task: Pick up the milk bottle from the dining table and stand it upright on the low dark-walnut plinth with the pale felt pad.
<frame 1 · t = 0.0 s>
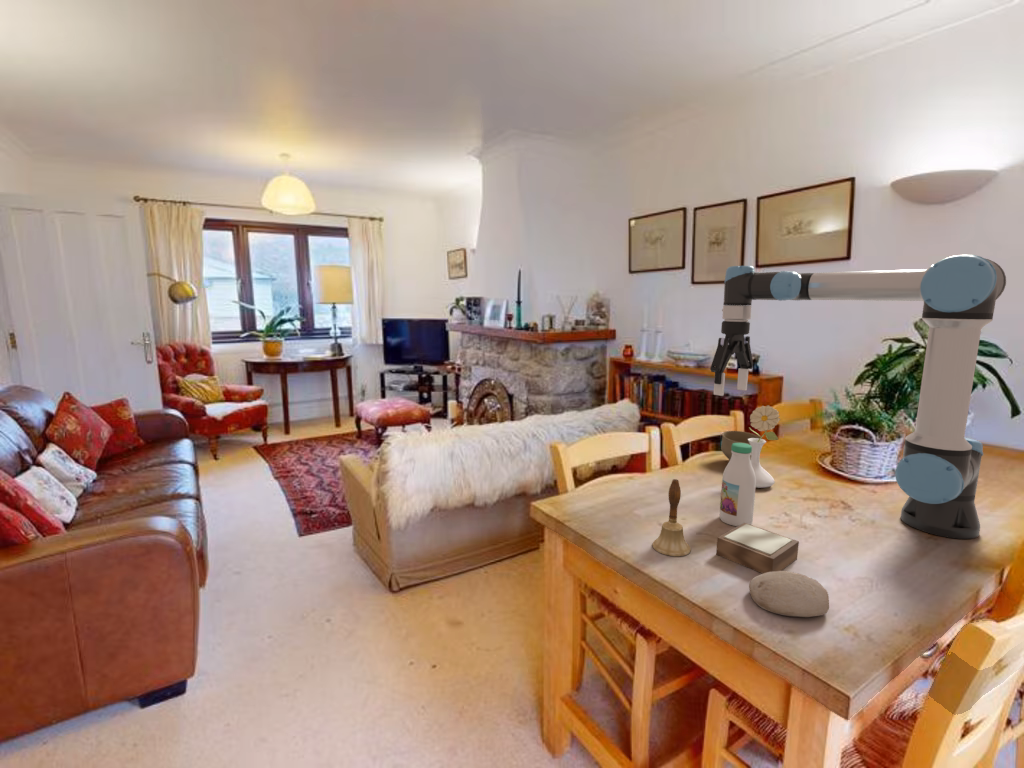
hand: (730, 392, 152), 28 cm above the table, fingers open, 13 cm apart
plinth: (756, 556, 112), on the table
bowl: (739, 464, 175), on the table
milk bottle: (735, 521, 130), on the table
stone: (786, 605, 95), on the table
flower in vase: (755, 485, 155), on the table
hand bell: (671, 548, 116), on the table
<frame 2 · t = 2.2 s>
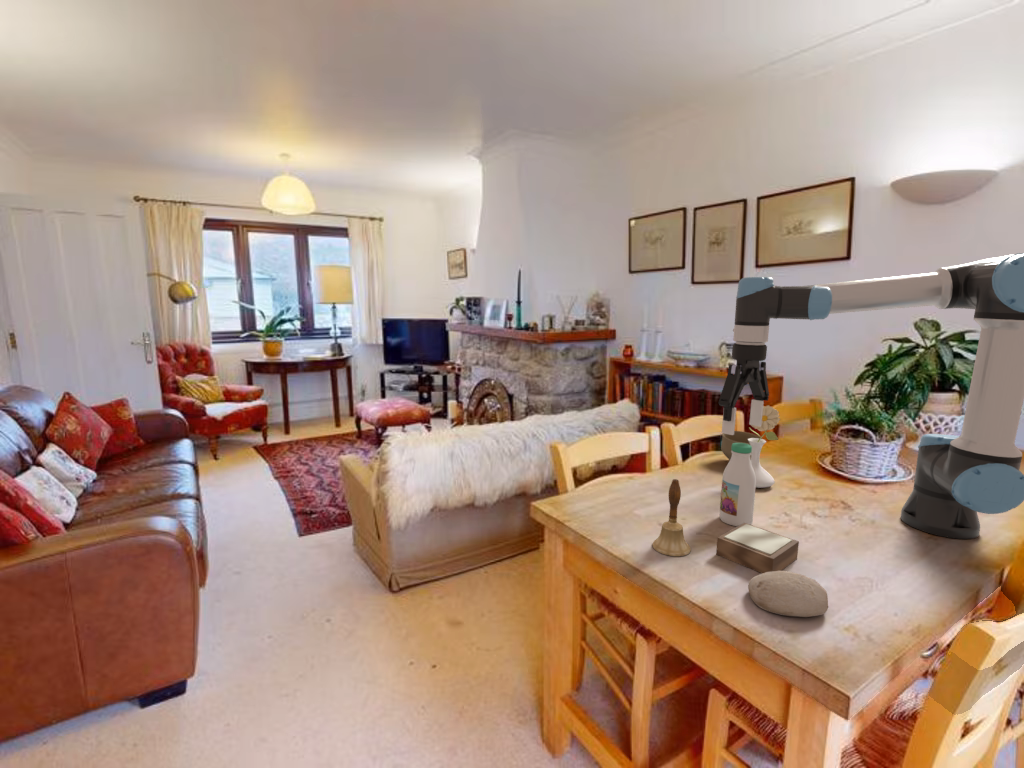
hand: (741, 429, 126), 24 cm above the table, fingers open, 13 cm apart
nothing on the table moved.
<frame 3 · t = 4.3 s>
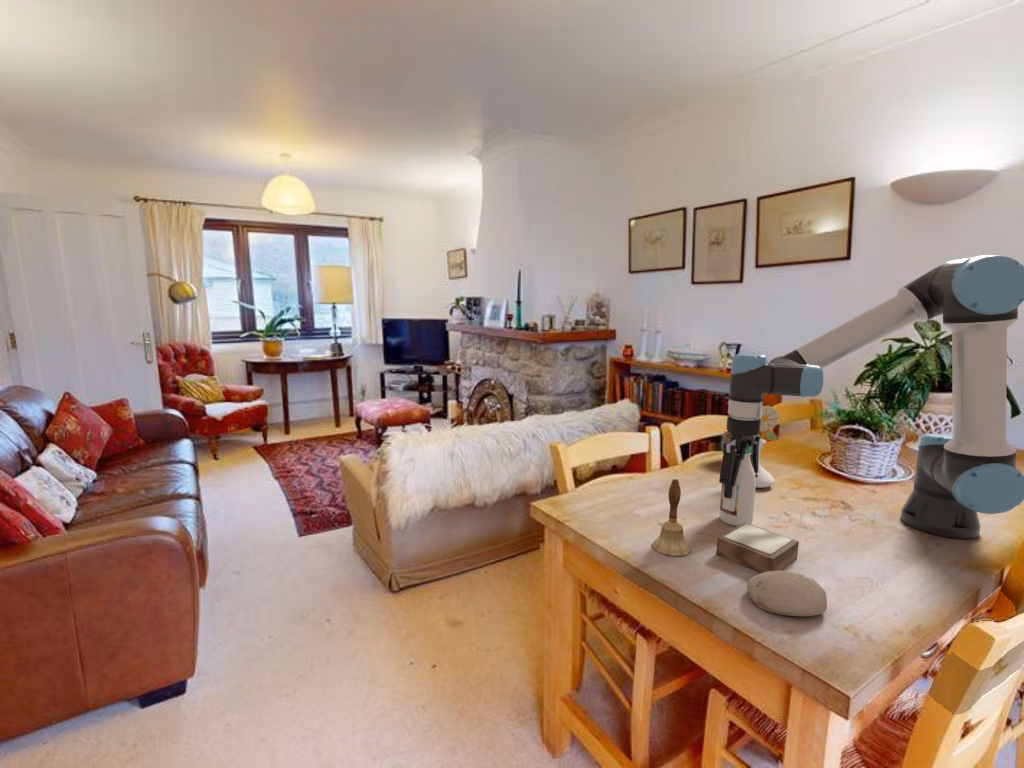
hand: (736, 505, 129), 4 cm above the table, fingers closed on milk bottle, 8 cm apart
milk bottle: (735, 521, 130), on the table, touching gripper
everything else where it was.
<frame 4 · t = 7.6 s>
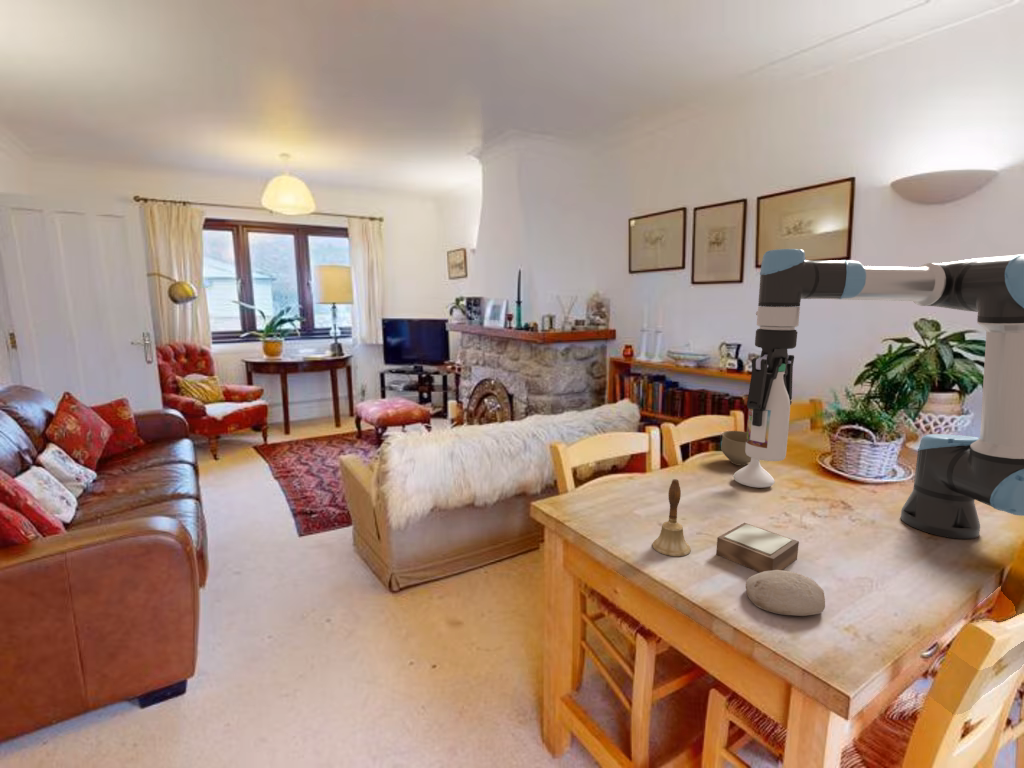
hand: (766, 437, 107), 27 cm above the table, fingers closed on milk bottle, 8 cm apart
milk bottle: (764, 457, 108), point 22 cm above the table, touching gripper
everything else where it was.
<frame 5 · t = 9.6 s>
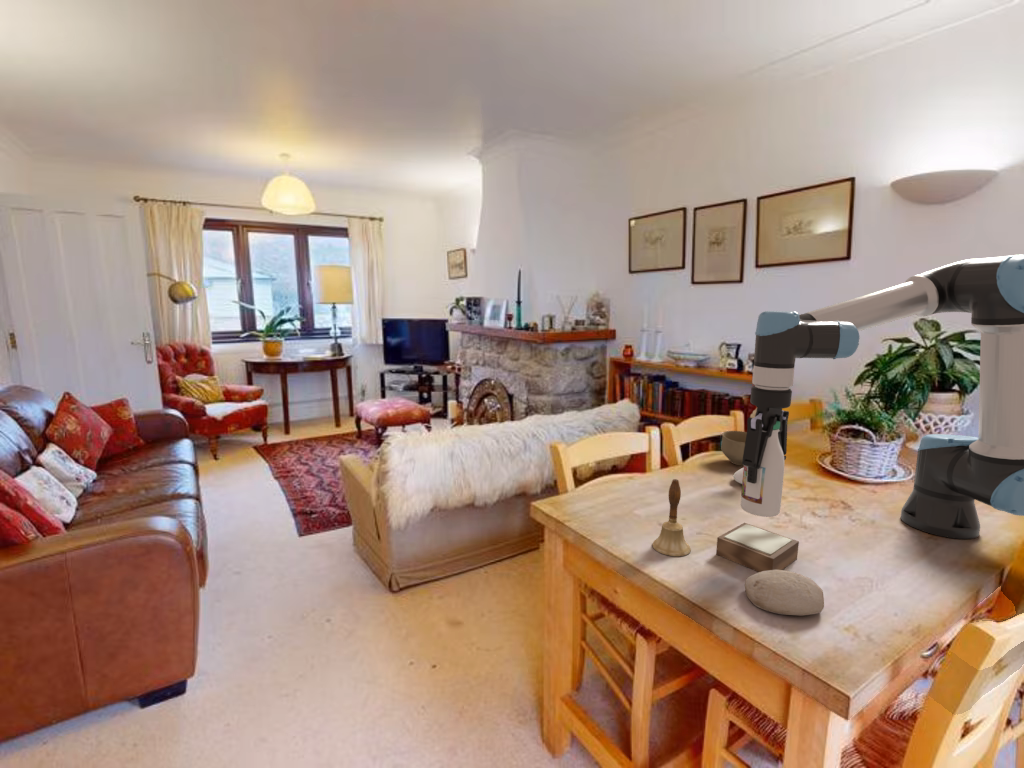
hand: (761, 492, 109), 15 cm above the table, fingers closed on milk bottle, 8 cm apart
milk bottle: (759, 511, 110), point 10 cm above the table, touching gripper
everything else where it was.
when the fingers open (10 cm above the table, at t = 11.0 s): milk bottle drops 1 cm, resting on plinth.
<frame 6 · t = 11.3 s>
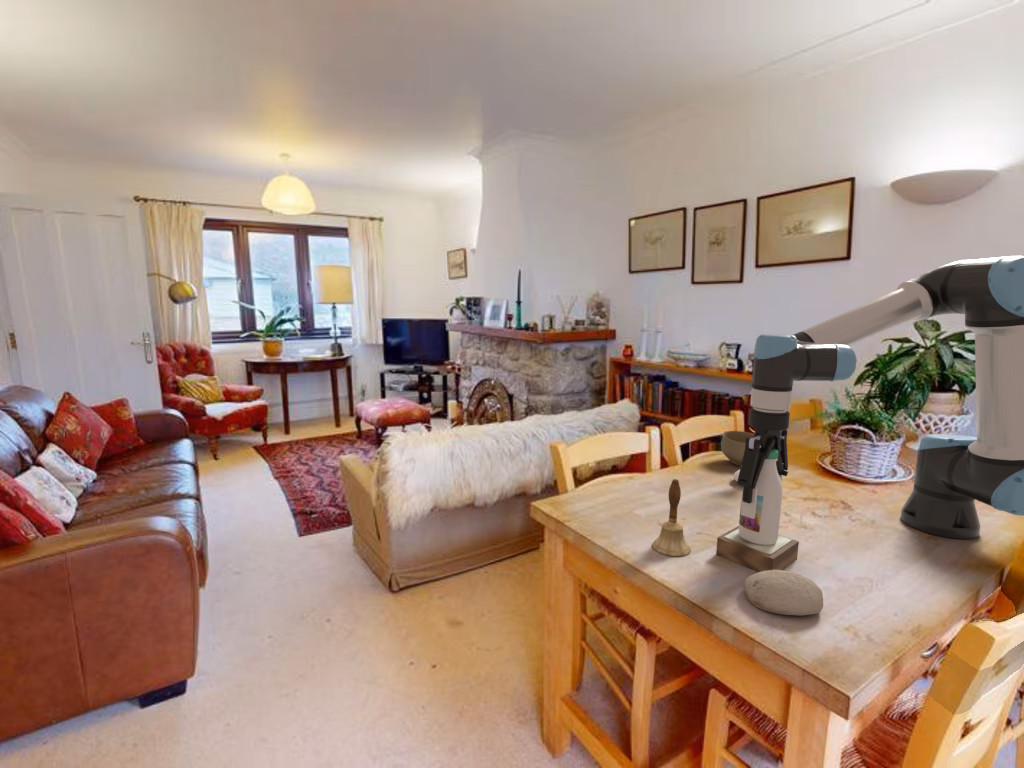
hand: (760, 509, 110), 11 cm above the table, fingers open, 10 cm apart
milk bottle: (757, 538, 111), point 4 cm above the table, touching plinth
everything else where it was.
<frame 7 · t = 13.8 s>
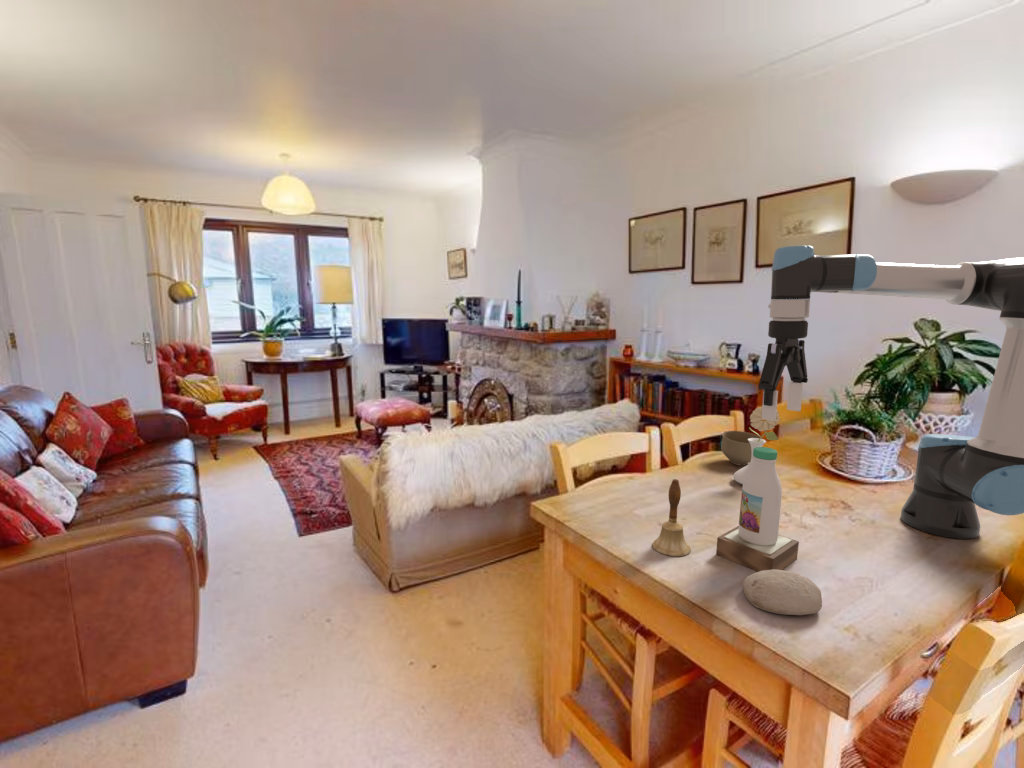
hand: (781, 415, 115), 30 cm above the table, fingers open, 13 cm apart
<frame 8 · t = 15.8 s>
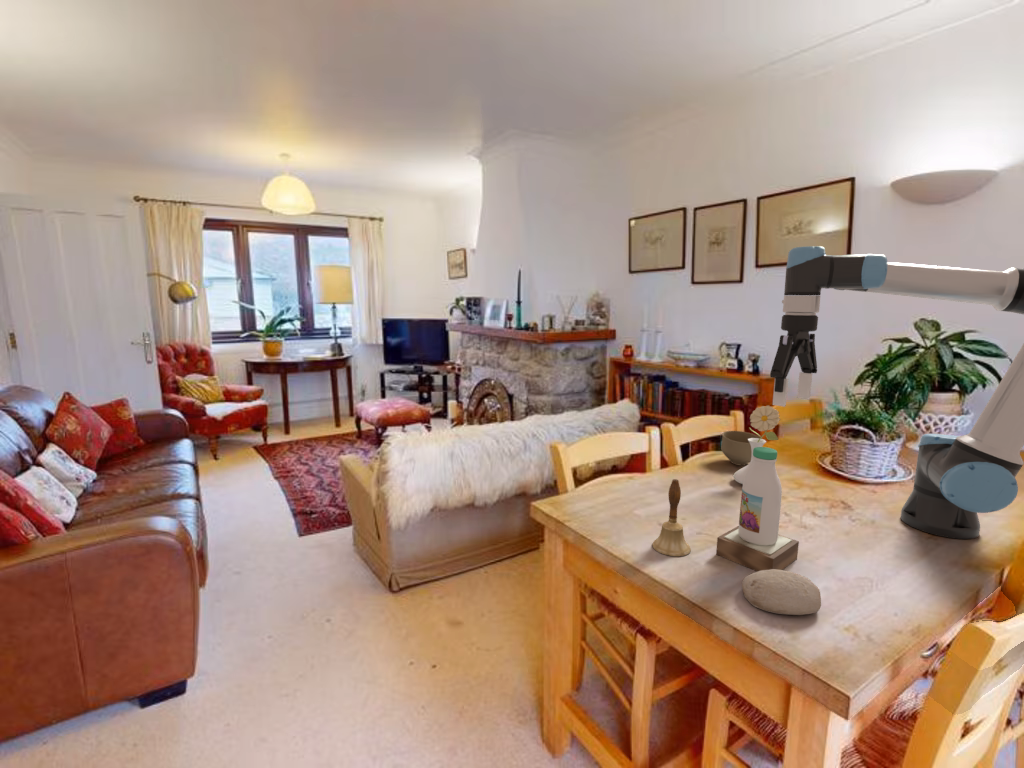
hand: (791, 402, 125), 31 cm above the table, fingers open, 13 cm apart
at the end: milk bottle inside the target area on the plinth (0.2 cm from its centre), point 4.1 cm above the plinth's base; milk bottle tilted 0°; the gripper is holding nothing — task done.
